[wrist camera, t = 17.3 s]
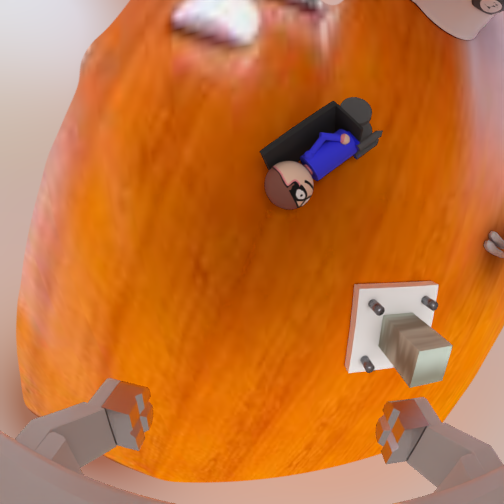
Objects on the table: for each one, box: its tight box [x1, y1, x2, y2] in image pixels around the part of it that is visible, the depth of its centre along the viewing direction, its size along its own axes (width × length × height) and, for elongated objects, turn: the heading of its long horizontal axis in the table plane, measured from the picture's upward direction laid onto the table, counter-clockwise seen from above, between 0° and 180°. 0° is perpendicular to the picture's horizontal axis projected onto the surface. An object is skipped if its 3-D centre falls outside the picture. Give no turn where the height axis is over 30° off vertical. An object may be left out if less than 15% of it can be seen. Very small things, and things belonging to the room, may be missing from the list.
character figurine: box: [260, 97, 383, 209], centre depth 29 cm, size 8×7×15 cm
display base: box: [345, 281, 438, 373], centre depth 35 cm, size 12×12×4 cm
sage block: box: [378, 312, 452, 388], centre depth 30 cm, size 4×4×10 cm
